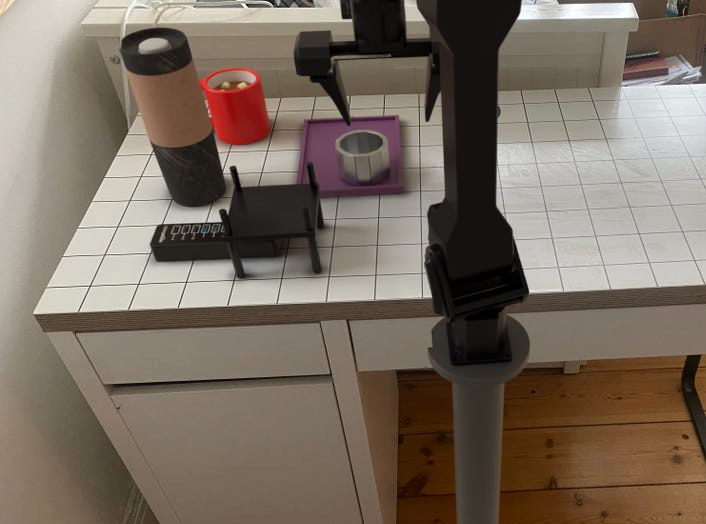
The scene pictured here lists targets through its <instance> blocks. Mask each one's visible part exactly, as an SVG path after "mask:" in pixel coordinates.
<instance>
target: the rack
mask: <svg viewBox="0 0 706 524" xmlns="http://www.w3.org/2000/svg"><path fill="white" fill-rule="evenodd" d="M306 166H307V172H308V178H309V183H307V184H296V183H291V184H288V183H287V184H272V185H270V184H269V185H251V186H242V184H241V179H240V175H239V172H238V168H237V166H236V165H230V166H229V168H228V169H229V172H230V176H231V180H232V185H233V191H232V195H231V200H230V204H229V209H228V211H227V209H226V208H220V209H219V210H218V214H219V218H220V220H221V221H220V222H222V224H223V228H224V235H223V239H224V242H225V243H227V245H228V249H229V252H230V255H231V262H232V264H233V269H234V272H235V273H234V274H235V276H236V278H238V279H243V278H245V277H246V272H245V269H244V264H243V261H242V258H241V257H240V254H239V250H238V247H237V243H236V242H245V241H262V240H280V239H281V240H294V239H306V242H307V247H308V253H309V258H310V262H311V268H312V272H313V273H314V274H320V273H322V270H323V269H322V264H321V259H320V254H319V253H320V252H319V248H318V243H317V237H316V236H317V229H318V230H323V229H325V220H324V219H325V218H324V215H323V208H322V201H321V198H320V196H319V189H320V188H319V183H316V178H315V172H314V166H313V163H312V162H307V163H306Z"/></svg>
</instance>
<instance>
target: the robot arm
mask: <svg viewBox="0 0 706 524" xmlns="http://www.w3.org/2000/svg"><path fill="white" fill-rule="evenodd" d="M415 2H416V8H417V10H418V11H419V13H420V15H421V16H422V17H423V19H424V21H425V22H426V24H427V26H428V37H415V38H414V37H413V38H412V37H410V38H408V36H407V35H408V34H407V33H408V31H407V16H406V6H405V0H339V7H340V16H341V19H342V20H343V21H344V20H351V21H352V23H351V24H352V30H353V31H352V32H353V39H354V40H342V41H341V40H339V41H338V40H337V41H334V38H333V33H332V30H331V29H330V30H308V31H307V30H303V31H299V33H298V34H297V35H296V37H295V41H294V48H293V61H294V67H295V73H296V75H297V76H299V77H309V81H310V83H312V84H319V85H320V86H321V88H322V89H323V90H324V92H325V93H326V94H327V95H328V96H329V98H330V99H331V101H332V102H333V104H334V105H335V107H336V109H337V110H338V112H339V114H340V116H341V118H342V117H343V119H344V121H345V122H346V124H347V126H351V118H350V117H351V110H350V105H349V102H348V97H347V93H346V89H345V86H344V82H343V77H342V73H341V68H340V61H357V60H359V61H360V60H361V61H362V60H381V59H382V60H383V59H405V58H409V59H410V58H427V59H426V79H425V92H424V93H425V94H424V120H425V123H429V122H430V120H431V117H432V115H433V111H434V109H435V106H436V102H437V100H438V97H439V95H440V101H441V102H440V103H441V126H442V153H443V154H442V155H443V178H444V179H443V180H444V181H443V183H444V197H443V199H442V201H440V202H436V203H433V204H430V205H429V207H428V210H427V212H426V218H427V226H428V228H427V229H428V234H427V240H428V245H427V246H425V251H424V252H425V253H424V262H423V266H424V267H423V268H424V270H425V274H426V275H425V276H426V278H427V279H426V280H427V283H428V286H429V287H428V288H429V290H430V294H431V299H432V311H433V313H434V314H435V315H438V316H441V317H445V318H446V320H447V323H446V328H447V337H448V346H449V356H450V363H451V365H453V366H460V365H474V364H488V363H502V362H510V361H512V350H511V345H510V340H509V335H508V329H507V324H506V316H507V315H508V314H507V313H508V306H513V305H516V304H519V303H520V304H523V303H526V302H527V300H528V297H529V294H530V288H529V284H528V281H527V278H526V274H525V271H524V267H523V264H522V260H521V257H520V253H519V251H518V246H517V243H516V240H515V236H514V231H513V227H512V226H511V224H510V223H509V222H508V221H507V219H506V218H505V216H504V215H503V213H502V212H501V210H500V209H499V208H498V206H497V190H498V187H497V186H498V137H499V136H498V130H499V129H498V126H499V75H500V74H499V73H500V68H499V67H500V49H501V46H502V45H503V44H504V42H505V40H506V38H507V37H508V35H509V34H510V32H511V30H512V29H513V27H514V25H515V23H516V22H517V20H518V19H519V17H520V15H521V13H522V5H523V4H522V3H523V0H415ZM507 357H509V358H507Z"/></svg>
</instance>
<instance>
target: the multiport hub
mask: <svg viewBox="0 0 706 524" xmlns="http://www.w3.org/2000/svg"><path fill="white" fill-rule="evenodd" d="M223 235H224V228H223V224H222V221H212V222H182V223H161V224H157V226H155V229H154V232H153V234H152V237H151V240H150V242H149V247H150V249H151V252H152V255H153V258H154V260H155V261H156V262H176V261H177V262H179V261H203V260H205V261H206V260H229V259H231V255H230V252H229V249H228V245H227V243H225V242H224V239H223ZM281 242H282V239H280V240H262V241H245V242H236V243H237V247H238V250H239V254H240V257H241V259H253V258H256V259H257V258H276V257H278V256H279V252H280V248H281ZM231 260H232V259H231Z"/></svg>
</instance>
